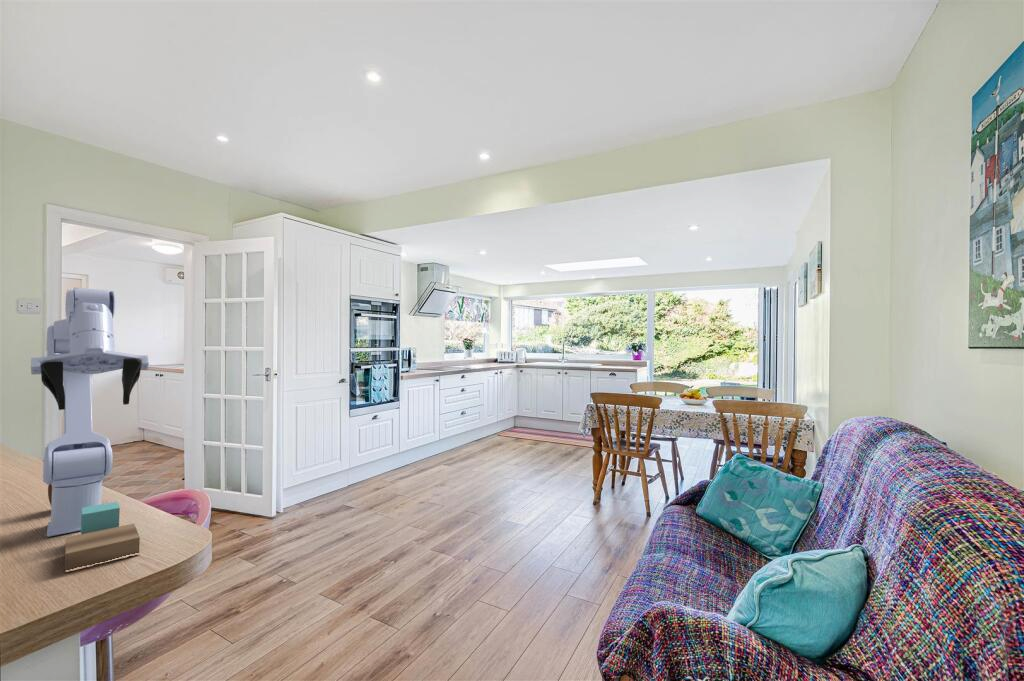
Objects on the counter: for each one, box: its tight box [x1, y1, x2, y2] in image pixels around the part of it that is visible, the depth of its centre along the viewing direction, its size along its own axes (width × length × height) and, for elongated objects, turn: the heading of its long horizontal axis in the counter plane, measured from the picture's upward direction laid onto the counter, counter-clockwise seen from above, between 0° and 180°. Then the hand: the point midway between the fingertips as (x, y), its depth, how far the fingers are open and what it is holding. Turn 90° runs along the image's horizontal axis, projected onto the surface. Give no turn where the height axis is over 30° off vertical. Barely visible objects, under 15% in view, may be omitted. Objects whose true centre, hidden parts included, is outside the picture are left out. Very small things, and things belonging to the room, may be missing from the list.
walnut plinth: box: [64, 523, 141, 571], centre depth 76 cm, size 9×9×3 cm
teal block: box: [80, 501, 120, 534], centre depth 82 cm, size 5×5×6 cm
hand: (95, 403), depth 72 cm, fingers open, 7 cm apart
